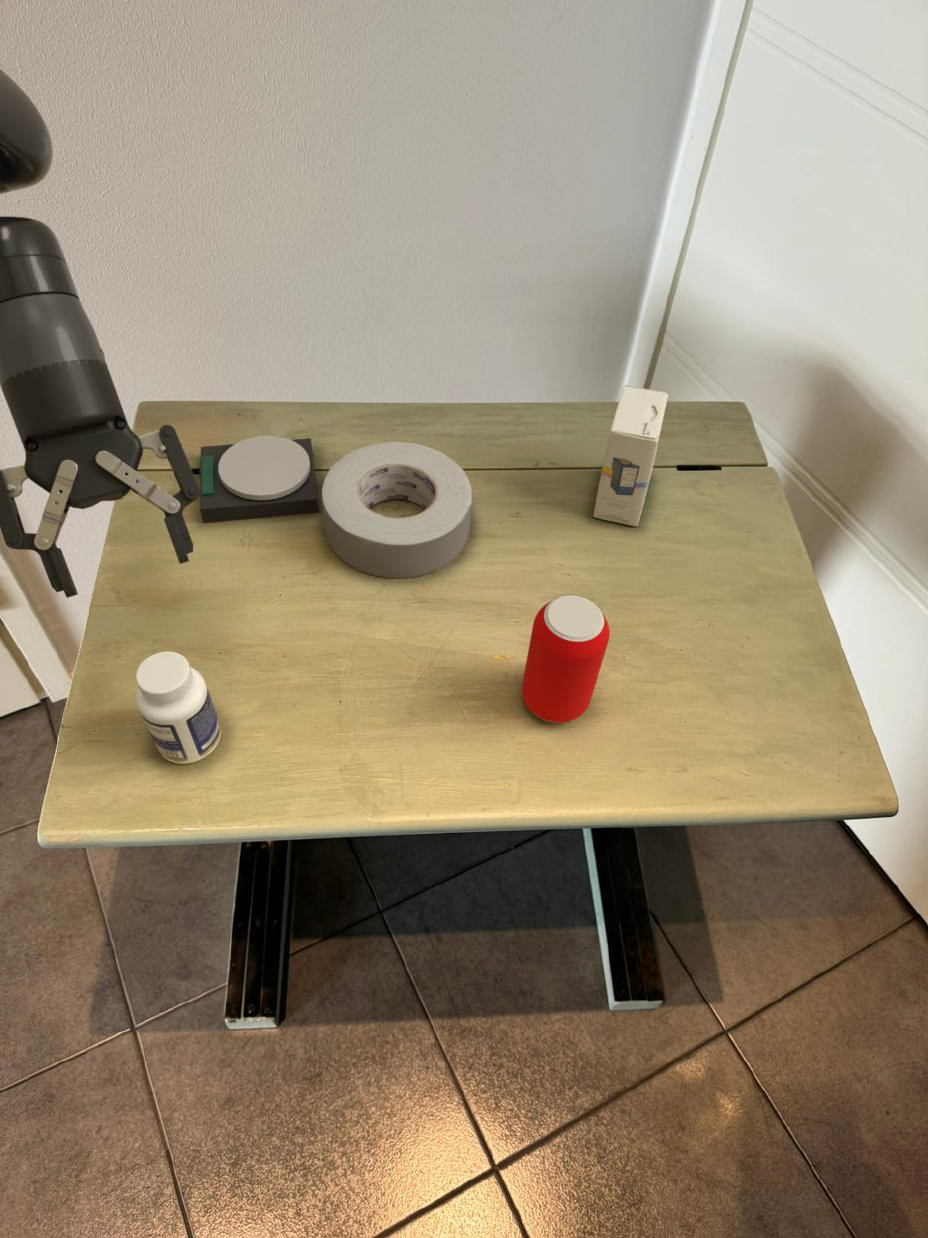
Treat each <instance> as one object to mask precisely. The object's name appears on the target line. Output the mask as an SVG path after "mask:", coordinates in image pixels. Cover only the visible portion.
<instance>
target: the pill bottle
mask: <svg viewBox="0 0 928 1238" xmlns="http://www.w3.org/2000/svg"><path fill="white" fill-rule="evenodd" d="M135 680H136V684H137V686H138V687H137V689H136V692H135V702H136V706H137V709H138V711H139V714H140V715H141V717H142V721H143V722H144V724H145V726H146V728H147V730H148V732H149V735H150V736H151V738H152V741H153V744H154V745H155V747H156V749H157V751H158V752H159V754H160V755H161V756H162V757H163V758H164V759H165V760H167V761H169V762H172V763H173V764H174V763H175V764H179V765H180V764H181V765H184V764H185V765H187V764H192V763H196V762H199V761H200V760H203V759H204V758H206V757H207V756H209V755H210V754H211V753H212V752H213V751H214V750H215V749H216V748H217V746H218V745H219V742H220V739H221V734H222V728H221V724H220V720H219V717H218V715H217V711H216V710H215V709H216V708H215V706H214V703H213V700H212V698H211V694H210V692H209V689H208V685H207V683H206V681H205V679H204V676H203V675H201V673H200V672H199V671H198V670H196V669H195V668H193V667H192V666H190V663H189V661H188V659H187V658H186V657H185V656H184V655H182V654H180V653H178V652H176V651H168V650H167V651H160V652H156V653H153V654H152V655H149V656H148V657H146V658H145V659H144V660H143V661H142V662H140V664H139V666H138V667H137V670H136V673H135Z"/></svg>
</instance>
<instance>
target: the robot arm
mask: <svg viewBox="0 0 928 1238" xmlns="http://www.w3.org/2000/svg"><path fill="white" fill-rule="evenodd" d="M53 157H54V149H53V142H52V139H51V134H50V131H49V128H48V126H47V124H46V122H45V120H44V118H43V116H42V114H41V112H39V109H38V108H37V107H36V104H34V102H33V101H32V99H31V98H30V96H28V94H27V93H26V92H25V91H24V90H23V89H22V87H20V85H19V84H18V83H17V82H16V81H15V80H13V79H12V77H11V76H9V75H8V74H7V73H6V72H5V71H4V70H2V69H1V68H0V195H2V194H3V195H4V194H6V193H11V192H16V191H19V190H23V189H28V188H31V187H33V186H35V185H37V184H40V182H42V181H43V180H44V179H45V178H46V177H47V175H48V174H49V171H50V170H51V167H52V163H53ZM0 388H1V391H2V394H3V397H4V399H5V402H6V404H7V407H8V409H9V412H10V415H11V418H12V420H13V422H14V425H15V428H16V432H17V433H18V437H19V439H20V441H21V443H22V446H23V449H24V453H25V460H24V464H23V465H17V466H12V467H8V468H2V469H0V531H1V534H2V537H3V541H4V543H5V545H6V547H8V548H9V549H13V550H18V551H19V550H20V551H21V550H23V551H34V552H36V553H37V554H38V555H39V558H40V560H41V562H42V565H43V568H44V570H45V574H46V576H47V579H48V581H49V583H50V586H51V588H52V589H53V590H54V591H55V592H56V593H60V592H63V593H64V595H65V597H66V598H67V599H68V598H72V597H75V596H77V595H79V593H78V590H77V588H76V585H75V581H74V580H73V577H72V574H71V571H70V569H69V566H68V563H67V561H66V558H65V556H64V553H63V550H62V548H60V547H58V545H57V543H58V542H57V541H58V539H59V536H60V534H61V531H62V528H63V526H64V524H65V521H66V519H67V516H68V513H69V510H70V508H72V509H79V510H80V509H81V510H85V509H88V508H92V507H94V506H96V505H98V504H99V503H101V502H114V501H118V500H123V499H124V497H126V496H127V495H128V494H129V493H130V491H131V492H133V493H134V494H135V495H137V496H139V497H140V498H142V499H143V500H145V501H146V502H148V503H150V504H151V505H153V506H154V507H155V508H157V509H159V510H160V511H162V512H163V514H164V516H165V517H164V518H163V521H164V524H165V527H166V529H167V532H168V536H169V538H170V541H171V543H172V547H173V550H174V552H175V555H176V558H177V560H178V563H179V564H180V565H181V564H184V563H188V562H190V559H189V556H188V554H191V553H194V543H193V540H192V537H191V535H190V532H189V528H188V526H187V523H186V520H185V518H184V510H185V508H187V507H189V506H190V505H191V504H192V503H193V502H195V501H197V500H198V499H199V498H200V485H199V484H198V481H197V478H196V477H195V474H194V472H193V469H192V467H191V463H190V462H189V460H188V457H187V455H186V452H185V451H184V448H183V445H182V443H181V441H180V438H179V436H178V433H177V431H176V429H175V428H174V426H172V425H170V424H164V425H161V427H160V428H159V430H155V431H152V432H148V433H145V434H143V435H137V434H136V433H135V432H134V431H133V430H132V429H131V426H130V425H129V423H128V419H127V417H126V414H125V412H124V408H123V406H122V403H121V400H120V398H119V395H118V392H117V389H116V387H115V384H114V380H113V377H112V376H111V372H110V370H109V367H108V363H107V361H106V356H105V353H104V350H103V349H102V347H101V344H100V342H99V339H98V336H97V334H96V331H95V329H94V326H93V325H92V322H91V320H90V318H89V316H88V315H87V312H86V311H85V309H84V307H83V303H82V302H81V300H80V296H79V293H78V290H77V288H76V285H75V282H74V278H73V276H72V274H71V270H70V269H69V266H68V262H67V259H66V257H65V255H64V251H63V249H62V246H61V243H60V241H59V239H58V238H57V235H56V234H55V232H54V231H53V230H52V229H51V227H49V225H47V224H46V223H44V222H42V221H41V220H38V219H34V218H31V217H26V216H13V215H11V216H9V215H8V216H6V215H5V216H3V215H2V216H0ZM144 450H149V451H151V452H152V453H153V454H154V455H155V456H156V457H157V458H158V459H162V460H164V459H167V461H168V464H169V466H170V468H171V470H172V473H173V475H174V478H175V480H176V482H177V484H178V487H179V489H180V490H179V491H177V492H176V493H175V494H173V495H171V494H169V493H168V492H166V491H165V490H163V489H162V488H161V487H159V486H157V484H156V483H154V482H153V481H151V480H150V479H148V478H147V477H146V476H144V475H143V474H141V473H140V472H138V469H139V466H140V463H141V460H142V457H143V454H144ZM27 480H30V481H31V482H32V483H34V484H35V485H37V487H40V488H41V489H42V490H44V491H45V492H47V493H48V494H49V496H48V498H47V501H46V503H45V506H44V510H43V513H42V517H41V520H40V523H39V526H38V528H37V530H36V533H34V532H33V533H32V532H31V533H30V532H26V530H25V527H24V525H23V520H22V518H21V514H20V512H19V508H18V506H17V502H16V499H15V498H18V497H20V496H21V495H22V494H23V484H24V482H25V481H27Z"/></svg>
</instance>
